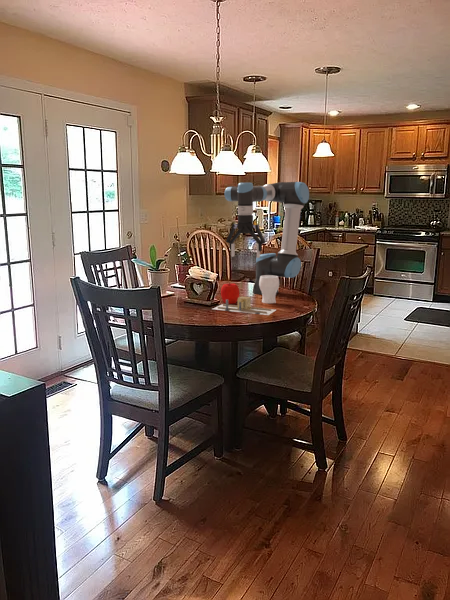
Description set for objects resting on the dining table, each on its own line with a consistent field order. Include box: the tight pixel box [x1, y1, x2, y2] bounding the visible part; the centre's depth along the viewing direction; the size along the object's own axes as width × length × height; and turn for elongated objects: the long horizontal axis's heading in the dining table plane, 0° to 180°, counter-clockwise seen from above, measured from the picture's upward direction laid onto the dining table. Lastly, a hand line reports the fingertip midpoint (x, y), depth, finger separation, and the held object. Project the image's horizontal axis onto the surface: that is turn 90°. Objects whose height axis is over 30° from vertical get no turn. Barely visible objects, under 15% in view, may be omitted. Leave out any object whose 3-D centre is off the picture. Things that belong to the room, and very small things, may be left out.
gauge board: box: [212, 300, 277, 316], centre depth 250 cm, size 12×30×7 cm, turn 65°
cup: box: [259, 275, 280, 304], centre depth 267 cm, size 11×11×15 cm
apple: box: [220, 282, 240, 305], centre depth 265 cm, size 10×10×12 cm
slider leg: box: [237, 296, 252, 311], centre depth 249 cm, size 8×5×6 cm, turn 155°
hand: (245, 257), depth 255 cm, fingers open, 13 cm apart
